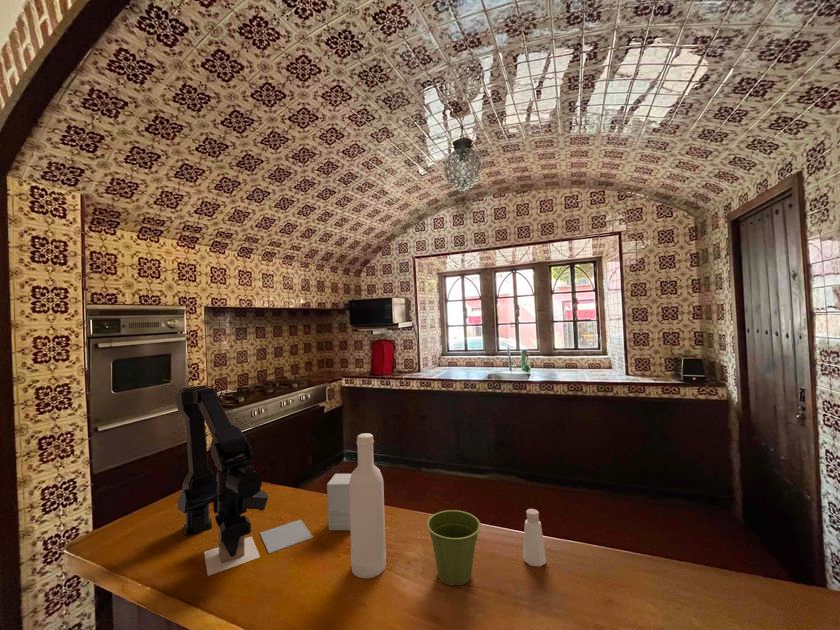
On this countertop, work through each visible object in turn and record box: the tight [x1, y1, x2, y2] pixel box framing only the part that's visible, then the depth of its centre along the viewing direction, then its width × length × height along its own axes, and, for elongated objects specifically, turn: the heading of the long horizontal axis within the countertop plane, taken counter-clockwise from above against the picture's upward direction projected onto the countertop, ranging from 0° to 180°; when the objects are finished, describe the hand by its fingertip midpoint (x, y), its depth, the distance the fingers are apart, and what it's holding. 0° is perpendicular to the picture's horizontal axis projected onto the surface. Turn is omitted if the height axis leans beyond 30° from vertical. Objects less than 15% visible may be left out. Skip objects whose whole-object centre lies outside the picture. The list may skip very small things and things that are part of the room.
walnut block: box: [218, 534, 245, 564], centre depth 90 cm, size 5×5×5 cm
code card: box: [203, 536, 261, 577], centre depth 90 cm, size 11×11×1 cm
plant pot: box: [426, 509, 482, 586], centre depth 80 cm, size 12×12×11 cm
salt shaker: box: [522, 508, 547, 567], centre depth 84 cm, size 5×5×11 cm
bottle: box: [349, 432, 387, 579], centre depth 84 cm, size 8×8×30 cm
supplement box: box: [326, 473, 352, 531], centre depth 102 cm, size 7×7×13 cm
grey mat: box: [259, 519, 314, 555], centre depth 97 cm, size 11×11×1 cm
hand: (231, 550), depth 90 cm, fingers closed on walnut block, 5 cm apart
